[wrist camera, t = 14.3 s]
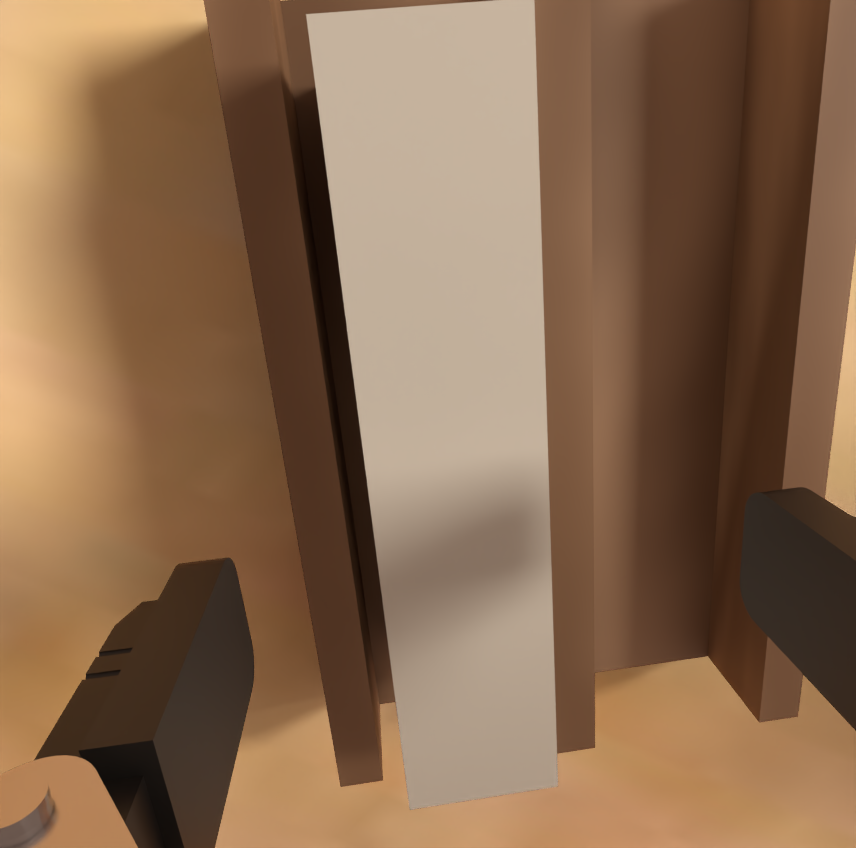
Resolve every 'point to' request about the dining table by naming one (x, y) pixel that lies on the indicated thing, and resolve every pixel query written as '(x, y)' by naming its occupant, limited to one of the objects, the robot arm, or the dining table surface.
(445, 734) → the cream rectangular block
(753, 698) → the rack
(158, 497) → the dining table surface
